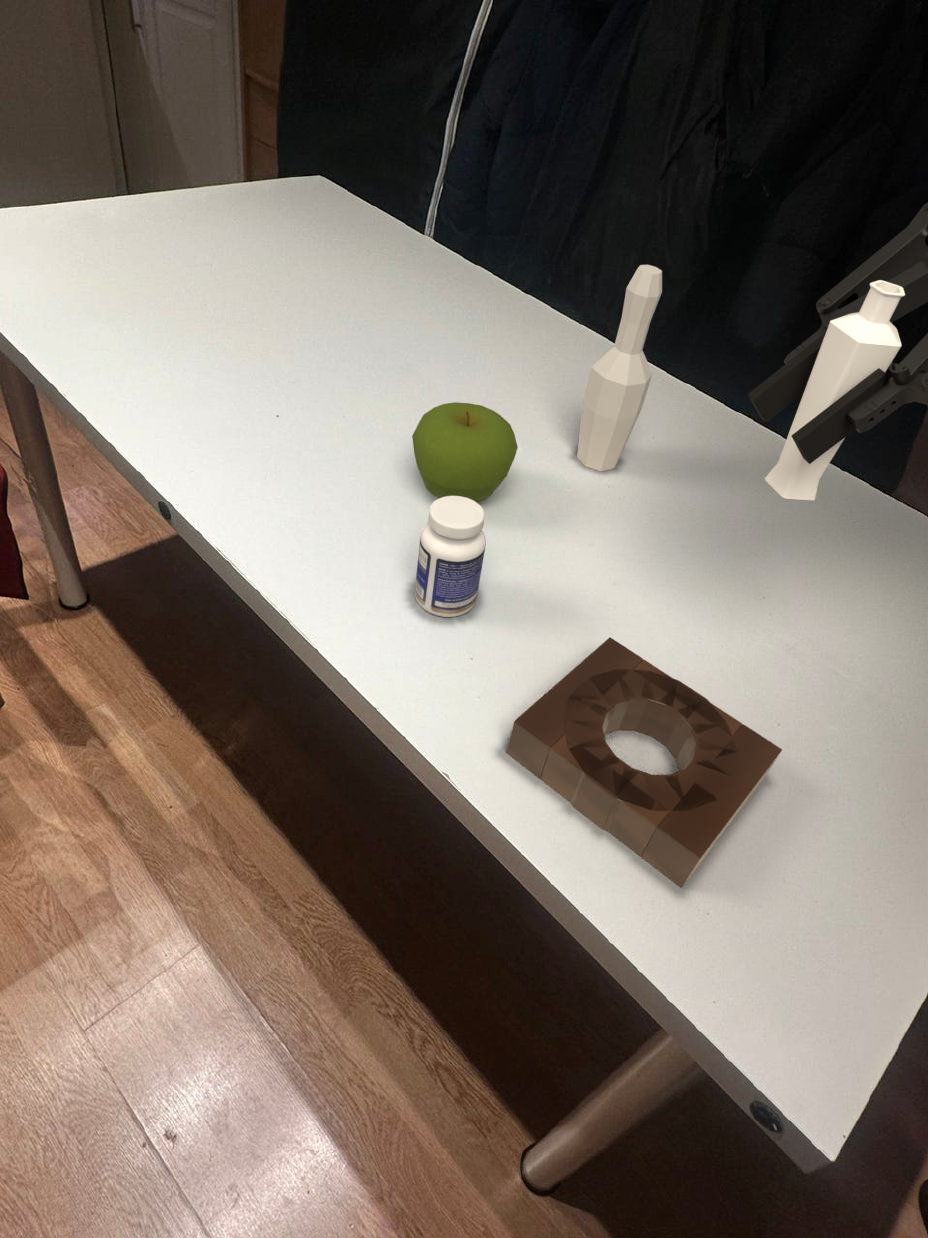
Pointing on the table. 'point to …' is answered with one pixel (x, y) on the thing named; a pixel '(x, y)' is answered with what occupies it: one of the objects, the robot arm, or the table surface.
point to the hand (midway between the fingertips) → (778, 428)
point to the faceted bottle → (619, 377)
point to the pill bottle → (450, 556)
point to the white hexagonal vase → (838, 381)
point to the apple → (463, 450)
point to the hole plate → (629, 798)
